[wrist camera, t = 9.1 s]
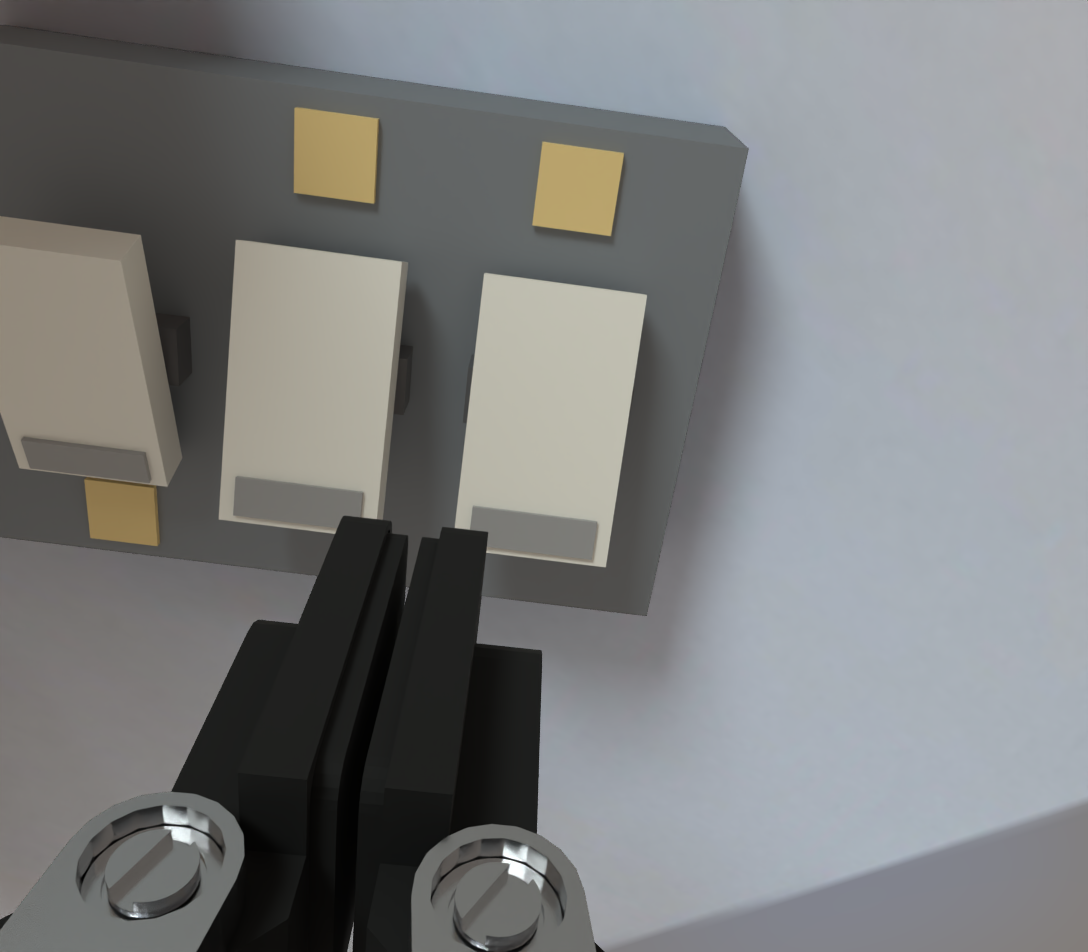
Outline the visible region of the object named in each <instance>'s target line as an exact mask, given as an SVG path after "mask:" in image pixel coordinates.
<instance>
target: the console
mask: <svg viewBox="0 0 1088 952" xmlns="http://www.w3.org/2000/svg"><path fill="white" fill-rule="evenodd" d="M748 150H749V148H747V147H746V146H745V145H744V144H743V143H742V142H741V141H740V140H739V139H738V138H737V137H735V136H734V135H733V134H732V133H731V132H730V131H729V130H728V129H727V128H726V127H721V126H714V125H707V124H700V123H693V122H686V121H679V120H672V119H664V118H657V117H650V116H643V115H636V114H629V113H622V112H615V111H608V110H601V109H594V108H587V107H580V106H573V105H566V104H559V103H551V102H544V101H537V100H530V99H523V98H516V97H509V96H502V95H495V94H488V93H481V92H474V91H467V90H460V89H453V88H445V87H438V86H431V85H424V84H417V83H410V82H403V81H396V80H389V79H382V78H375V77H368V76H361V75H354V74H347V73H340V72H332V71H325V70H318V69H311V68H304V67H297V66H290V65H283V64H276V63H269V62H262V61H255V60H248V59H241V58H234V57H226V56H219V55H212V54H205V53H198V52H191V51H184V50H177V49H170V48H163V47H156V46H149V45H142V44H135V43H128V42H121V41H113V40H106V39H99V38H92V37H85V36H78V35H71V34H64V33H57V32H50V31H43V30H36V29H29V28H22V27H15V26H7V25H0V216H3V217H11V218H18V219H26V220H33V221H41V222H48V223H56V224H63V225H70V226H78V227H85V228H93V229H100V230H108V231H115V232H123V233H130V234H137V235H141V239H142V244H143V250H144V255H145V260H146V266H147V271H148V277H149V282H150V287H151V293H152V298H153V303H154V309H155V314H156V319H157V325H158V330H159V335H160V341H161V346H162V352H163V357H164V362H165V368H166V373H167V378H168V384H169V389H170V394H171V400H172V405H173V410H174V416H175V421H176V427H177V432H178V437H179V443H180V448H181V453H182V460H181V461H180V463H179V465H178V467H177V469H176V471H175V473H174V475H173V477H172V479H171V481H170V483H169V485H168V487H165V486H157V485H149V484H141V483H133V482H125V481H117V480H109V479H101V478H93V477H85V476H77V475H69V474H61V473H53V472H45V471H37V470H29V469H21V468H19V466H18V463H17V460H16V457H15V454H14V451H13V448H12V445H11V442H10V439H9V437H8V434H7V431H6V428H5V425H4V422H3V419H2V416H1V413H0V537H4V538H12V539H20V540H28V541H37V542H45V543H53V544H61V545H69V546H77V547H86V548H94V549H102V550H110V551H118V552H127V553H135V554H143V555H151V556H159V557H167V558H176V559H184V560H192V561H200V562H208V563H216V564H225V565H233V566H241V567H249V568H257V569H266V570H274V571H282V572H290V573H298V574H306V575H315V576H318V574H319V572H320V569H321V567H322V565H323V562H324V560H325V557H326V555H327V552H328V550H329V547H330V545H331V542H332V540H333V538H334V535H335V534H332V533H324V532H316V531H308V530H300V529H292V528H284V527H276V526H268V525H260V524H252V523H243V522H235V521H227V520H219V505H220V489H221V472H222V456H223V440H224V424H225V407H226V391H227V375H228V358H229V342H230V326H231V310H232V293H233V277H234V261H235V245H236V240H244V241H254V242H261V243H269V244H276V245H283V246H291V247H298V248H306V249H313V250H321V251H328V252H335V253H343V254H350V255H358V256H365V257H373V258H380V259H387V260H395V261H402V262H408V271H407V281H406V292H405V302H404V312H403V322H402V332H401V342H400V352H399V362H398V372H397V382H396V392H395V402H394V412H393V422H392V433H391V443H390V453H389V463H388V473H387V483H386V493H385V503H384V513H383V520H389V521H391V522H392V533H393V534H402V535H408V557H407V572H406V587H409V586H410V582H411V578H412V575H413V571H414V567H415V563H416V559H417V555H418V551H419V547H420V543H421V539H422V537H429V538H438V539H439V538H440V533H441V529H442V527H451V528H455V520H456V512H457V503H458V494H459V486H460V477H461V469H462V460H463V451H464V443H465V434H466V426H467V417H468V408H469V400H470V391H471V382H472V374H473V365H474V357H475V348H476V339H477V331H478V322H479V314H480V305H481V296H482V288H483V279H484V273H491V274H499V275H506V276H514V277H521V278H528V279H536V280H543V281H551V282H558V283H566V284H573V285H580V286H588V287H595V288H603V289H610V290H618V291H625V292H632V293H640V294H645V295H647V300H646V306H645V313H644V319H643V326H642V333H641V339H640V346H639V352H638V359H637V365H636V372H635V378H634V385H633V392H632V398H631V405H630V411H629V418H628V424H627V431H626V438H625V444H624V451H623V457H622V464H621V470H620V477H619V483H618V490H617V497H616V503H615V510H614V516H613V523H612V529H611V536H610V543H609V549H608V556H607V562H606V567H598V566H590V565H582V564H574V563H566V562H558V561H550V560H542V559H534V558H526V557H518V556H510V555H502V554H493V553H486V560H485V569H484V578H483V587H482V596H486V597H494V598H503V599H511V600H519V601H527V602H535V603H544V604H552V605H560V606H568V607H576V608H584V609H593V610H601V611H609V612H617V613H625V614H633V615H642V616H647V612H648V607H649V603H650V598H651V594H652V589H653V584H654V580H655V575H656V571H657V566H658V562H659V557H660V552H661V548H662V543H663V539H664V534H665V529H666V525H667V520H668V516H669V511H670V507H671V502H672V497H673V493H674V488H675V484H676V479H677V475H678V470H679V465H680V461H681V456H682V452H683V447H684V443H685V438H686V433H687V429H688V424H689V420H690V415H691V411H692V406H693V401H694V397H695V392H696V388H697V383H698V379H699V374H700V369H701V365H702V360H703V356H704V351H705V347H706V342H707V337H708V333H709V328H710V324H711V319H712V314H713V310H714V305H715V301H716V296H717V292H718V287H719V282H720V278H721V273H722V269H723V264H724V260H725V255H726V250H727V246H728V241H729V237H730V232H731V228H732V223H733V218H734V214H735V209H736V205H737V200H738V196H739V191H740V186H741V182H742V177H743V173H744V168H745V164H746V159H747V154H748Z"/></svg>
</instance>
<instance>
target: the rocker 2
mask: <svg viewBox="0 0 1088 952" xmlns="http://www.w3.org/2000/svg"><path fill="white" fill-rule="evenodd" d="M407 271H408V262H402V261H395V260H387V259H380V258H373V257H365V256H358V255H350V254H343V253H335V252H328V251H321V250H313V249H306V248H298V247H291V246H283V245H276V244H269V243H261V242H254V241H244V240H236V245H235V261H234V277H233V293H232V310H231V326H230V342H229V358H228V375H227V391H226V407H225V424H224V440H223V456H222V472H221V489H220V505H219V520H227V521H235V522H243V523H252V524H260V525H268V526H276V527H284V528H292V529H300V530H308V531H316V532H324V533H332V534H335V533H336V530H337V528H338V525H339V523H340V520H341V519H342V517H343V516H354V517H362V518H371V519H380V520H383V513H384V503H385V493H386V483H387V473H388V463H389V453H390V443H391V433H392V422H393V412H394V402H395V392H396V382H397V372H398V362H399V352H400V342H401V332H402V322H403V312H404V302H405V292H406V281H407Z"/></svg>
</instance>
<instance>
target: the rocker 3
mask: <svg viewBox="0 0 1088 952" xmlns="http://www.w3.org/2000/svg"><path fill="white" fill-rule="evenodd" d="M646 300H647V295H645V294H640V293H632V292H625V291H618V290H610V289H603V288H595V287H588V286H580V285H573V284H566V283H558V282H551V281H543V280H536V279H528V278H521V277H514V276H506V275H499V274H491V273H484V279H483V288H482V296H481V305H480V314H479V322H478V331H477V339H476V348H475V357H474V365H473V374H472V382H471V391H470V400H469V408H468V417H467V426H466V434H465V443H464V451H463V460H462V469H461V477H460V486H459V494H458V503H457V512H456V520H455V528H459V529H468V530H477V531H486V532H488V542H487V551H486V553H493V554H502V555H510V556H518V557H526V558H534V559H542V560H550V561H558V562H566V563H574V564H582V565H590V566H598V567H606V562H607V556H608V549H609V543H610V536H611V529H612V523H613V516H614V510H615V503H616V497H617V490H618V483H619V477H620V470H621V464H622V457H623V451H624V444H625V438H626V431H627V424H628V418H629V411H630V405H631V398H632V392H633V385H634V378H635V372H636V365H637V359H638V352H639V346H640V339H641V333H642V326H643V319H644V313H645V306H646Z"/></svg>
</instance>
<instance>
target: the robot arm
mask: <svg viewBox="0 0 1088 952" xmlns="http://www.w3.org/2000/svg"><path fill="white" fill-rule="evenodd" d="M487 542H488V532H486V531H477V530H468V529H459V528H451V527H442V529H441V533H440V538H439V539H438V538H429V537H422V539H421V543H420V547H419V551H418V555H417V559H416V563H415V567H414V571H413V575H412V578H411V582H410V586H409V590H408V594H407V598H406V602H405V588H406V572H407V557H408V535H402V534H393V533H392V522H391V521H389V520H380V519H371V518H362V517H354V516H343V517H342V519H341V520H340V523H339V525H338V528H337V530H336V533H335V535H334V538H333V540H332V542H331V545H330V547H329V550H328V552H327V555H326V557H325V560H324V562H323V565H322V567H321V569H320V572H319V574H318V577H317V579H316V582H315V584H314V587H313V589H312V591H311V594H310V596H309V599H308V601H307V604H306V606H305V609H304V611H303V614H302V616H301V618H300V621H299V623H298V624H293V623H284V622H275V621H266V620H257V621H255V622H254V623H253V624H252V626H251V628H250V629H249V631H248V633H247V635H246V637H245V639H244V641H243V643H242V645H241V647H240V649H239V652H238V654H237V656H236V658H235V660H234V662H233V664H232V666H231V668H230V670H229V672H228V674H227V677H226V679H225V681H224V683H223V685H222V687H221V689H220V691H219V693H218V695H217V697H216V699H215V702H214V704H213V706H212V708H211V710H210V712H209V714H208V716H207V718H206V720H205V722H204V724H203V727H202V729H201V731H200V733H199V735H198V737H197V739H196V741H195V743H194V745H193V747H192V749H191V752H190V754H189V756H188V758H187V760H186V762H185V764H184V766H183V768H182V770H181V772H180V774H179V777H178V779H177V781H176V783H175V785H174V787H173V789H172V791H171V792H163V793H155V794H148V795H141V796H139V797H136V798H133V799H130V800H127V801H125V802H122V803H119V804H116V805H114V806H112V807H111V808H109V809H107V810H106V811H104V812H102V813H101V814H99V815H98V816H96V817H94V818H93V819H91V820H90V821H89V822H88V823H86V824H85V825H84V826H83V827H82V828H81V829H80V830H79V831H78V832H77V833H76V834H75V835H74V836H73V837H72V838H71V839H70V840H69V842H68V843H67V844H66V846H65V847H64V848H63V850H62V851H61V852H60V853H59V855H58V856H57V857H56V859H55V860H54V861H53V862H52V864H51V865H50V866H49V868H48V869H47V870H46V871H45V873H44V874H43V875H42V877H41V878H40V879H39V881H38V882H37V883H36V884H35V886H34V887H33V888H32V890H31V891H30V892H29V893H28V895H27V896H26V897H25V899H24V900H23V901H22V902H21V904H20V905H19V906H18V908H17V909H16V910H15V912H14V913H12V914H10V915H8V916H6V917H4V918H2V919H0V952H347V949H348V945H349V940H350V936H351V931H352V927H353V922H354V931H353V952H604V951H603V950H602V949H601V948H600V947H599V946H598V945H597V944H596V943H595V942H594V937H593V932H592V927H591V922H590V917H589V912H588V907H587V901H586V896H585V891H584V888H583V886H582V883H581V880H580V878H579V875H578V872H577V870H576V868H575V867H574V865H573V864H572V863H571V862H570V860H569V859H568V858H567V857H566V855H565V854H564V853H563V852H562V850H561V849H559V848H558V847H556V846H555V845H554V844H552V843H551V842H549V841H548V840H547V839H545V838H544V837H542V836H541V835H538V834H537V809H538V777H539V744H540V712H541V679H542V651H541V650H532V649H523V648H514V647H505V646H496V645H486V644H477V643H476V641H477V632H478V623H479V614H480V605H481V596H482V587H483V578H484V569H485V560H486V551H487ZM404 603H405V606H404Z"/></svg>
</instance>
